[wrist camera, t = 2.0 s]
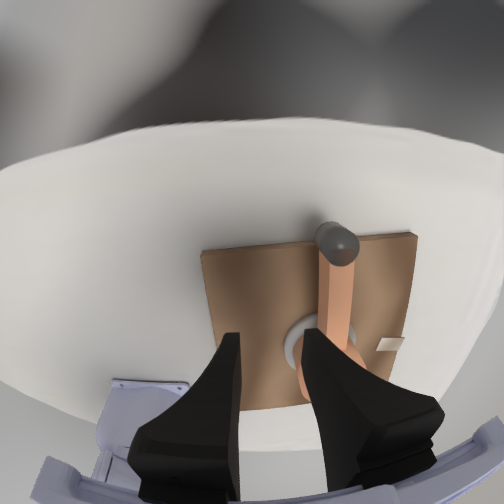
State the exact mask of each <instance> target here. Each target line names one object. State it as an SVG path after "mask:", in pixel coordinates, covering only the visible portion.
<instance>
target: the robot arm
mask: <svg viewBox="0 0 504 504" xmlns="http://www.w3.org/2000/svg"><path fill="white" fill-rule="evenodd" d="M301 367H302V372H303V378H304V382H305V385H306V388H307V391H308V394H309V397H310V400H311V403H312V406H313V409H314V413H315V416H316V419H317V423H318V427H319V432H320V437H321V443H322V449H323V455H324V462H325V469H326V477H327V487H328V493H323V494H317V495H311V496H305V497H298V498H290V499H281V500H268V501H246V502H245V501H244V502H241V500H240V480H239V479H240V478H239V447H238V423H239V412H240V401H241V390H242V367H241V347H240V332H228V333H225V334H224V335H223V338H222V341H221V343H220V345H219V347H218V349H217V351H216V353H215V354H214V356H213V358H212V360H211V361H210V363H209V364H208V366H207V367H206V369H205V370H204V372H203V373H202V374H201V376H200V377H199V378H198V380H197V381H196V382H195V383H194V384H193V385H192V387H191V388H190V387H189V385H188V384H186V383H155V382H136V381H122V380H112V381H111V385H112V387H113V389H112V391H111V393H110V395H109V398H108V400H107V402H106V404H105V407H104V409H103V411H102V414H101V416H100V418H99V421H98V424H97V429H96V440H97V445H98V447H99V449H100V451H101V452H100V454H99V456H98V459H97V462H96V465H95V468H94V470H93V473H92V477H91V478H89V477H86V476H83V475H81V474H80V472H79V471H78V470H77V469H75V468H74V467H73V466H71V465H69V464H67V463H65V462H62V461H60V460H58V459H55V458H53V457H51V456H47V457H46V459H45V461H44V464H43V466H42V468H41V471H40V473H39V475H38V478H37V480H36V483H35V485H34V488H33V490H32V493H31V496H30V499H31V500H33V501H34V502H35V503H37V504H450V503H451V502H453V501H454V500H456V499H458V498H459V497H461V496H462V495H464V494H465V493H467V492H468V491H470V490H471V489H472V488H474V487H475V486H477V485H478V484H480V483H481V482H482V481H484V480H485V479H486V478H488V477H489V476H490V475H491V474H493V473H494V472H495V471H496V470H497V469H498V468H499V467H500V466H502V465H503V464H504V424H503V423H502V422H501V420H500V419H499V418H498V416H495V417H494V418H492V419H491V420H489V421H487V422H486V423H484V424H483V425H482V426H481V427H480V428H479V429H478V430H477V431H476V432H475V433H474V434H473V436H472V437H471V438H470V439H468V440H466V441H464V442H462V443H461V444H459V445H457V446H455V447H453V448H452V449H450V450H448V451H446V452H444V453H442V454H440V455H438V456H436V457H435V455H434V454H433V451H432V450H431V448H432V446H433V442H432V440H431V437H432V436H433V435H434V434H435V432H436V431H437V430H438V428H439V427H440V425H441V424H442V422H443V420H444V417H445V414H444V411H443V410H442V408H441V407H440V405H439V404H438V402H437V401H436V399H435V398H434V397H431V396H427V395H423V394H419V393H415V392H412V391H409V390H407V389H404V388H401V387H399V386H396V385H394V384H392V383H390V382H388V381H386V380H383V379H381V378H380V377H378V376H376V375H374V374H373V373H371V372H369V371H368V370H366V369H365V368H363V367H362V366H360V365H359V364H358V363H356V362H355V361H354V360H352V359H351V358H350V357H349V356H347V355H346V354H345V353H344V352H343V351H341V350H340V349H339V348H338V347H337V346H336V345H335V344H334V343H333V342H332V341H331V340H330V339H329V338H327V337H326V336H325V335H324V334H323V333H322V332H321V331H320V330H319V329H318V328H310V329H304V338H303V347H302V356H301Z"/></svg>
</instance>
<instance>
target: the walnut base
mask: <svg viewBox="0 0 504 504" xmlns="http://www.w3.org/2000/svg"><path fill="white" fill-rule="evenodd" d="M357 238H358V240H359V244H360V250H359V254H358V256H357V258H356V259H355V264H354V280H353V293H352V304H351V314H350V323H349V332H348V334H349V336H350V338H351V340H352V342H353V343H354V345H355V347H356V349H357V351H358V352H359V354H360V356H361V358H362V360H363V361H364V363H365V365H366V368H367V370H368V371H369V372H371V373H373V374H374V375H376V376H378V377H380V378H381V379H383V380H386V381H388V380H389V377H390V374H391V371H392V367H393V364H394V361H395V357H396V354H397V351H398V350H399V348H400V346H401V344H402V342H403V340H404V337H401V335H402V331H403V326H404V322H405V317H406V313H407V308H408V303H409V297H410V292H411V286H412V280H413V273H414V266H415V258H416V250H417V240H418V236H417V235H415V234H413V233H411V232H406V233H395V234H383V235H371V236H360V237H357ZM200 257H201V263H202V269H203V276H204V281H205V287H206V293H207V299H208V304H209V310H210V315H211V320H212V326H213V331H214V336H215V341H216V346H217V349H218V347H219V345H220V343H221V341H222V338H223V335H224V334H225V333H228V332H240V347H241V367H242V390H241V401H240V411H247V410H260V409H270V408H279V407H287V406H295V405H301V404H308V403H311V401H309V400H307V399H306V398H305V397H304V396H303V395H302V392H301V388H300V384H299V380H298V376H297V372H296V368H295V364H294V360H293V349H294V346H295V344H296V343H297V341H298V340H299V339H300V338H301V337H302V336H303V335H304V329H310V328H317V326H318V299H319V249H318V248H317V246H316V244H315V241H304V242H293V243H282V244H271V245H260V246H250V247H239V248H229V249H218V250H208V251H202V254H201V256H200Z"/></svg>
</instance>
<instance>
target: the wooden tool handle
mask: <svg viewBox="0 0 504 504" xmlns="http://www.w3.org/2000/svg"><path fill="white" fill-rule="evenodd" d="M315 244H316V246H317V248H318V249H319V299H318V326H317V328H318V329H319V330H320V331H321V332H322V333H323V334H324V335H325V336H326V337H327V338H329V339H330V340H331V341H332V342H333V343H334V344H335V345H336V346H337V347H338V348H339V349H340V350H341V351H343V352H344V353H345V354H346V355H347V356H349V357H350V358H351V359H352V360H354V361H355V362H356V363H358V364H359V365H360V366H362V367H363V368H365V369H366V370H367V368H366V365H365V363H364V361H363V360H362V358H361V356H360V354H359V352H358V351H357V349H356V347H355V345H354V343H353V342H352V340H351V338H350V336H349V334H348V332H349V323H350V314H351V304H352V293H353V280H354V264H355V259H356V258H357V256H358V254H359V250H360V244H359V240H358V238H357V237H356V236H355V235H354V234H353V233H352V232H350V231H349V230H348V229H346V228H345V227H343V226H342V225H340V224H339V223H337V222H333V221H330V222H326V223H324V224H322V225H321V226H320V227H319V228H318V229H317V231H316V233H315ZM303 338H304V335H303V336H302V337H301V338H300V339H299V340H298V341H297V343H296V344H295V346H294V349H293V360H294V364H295V368H296V372H297V376H298V380H299V384H300V388H301V392H302V395H303V396H304V397H305V398H306V399H307V400H309V401H311V400H310V397H309V394H308V391H307V388H306V385H305V382H304V378H303V372H302V367H301V356H302V347H303Z"/></svg>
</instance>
